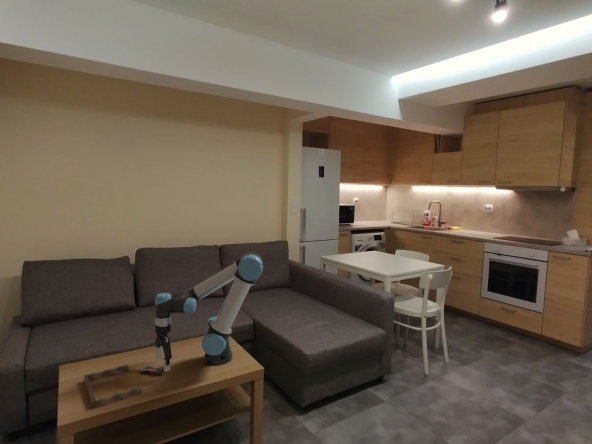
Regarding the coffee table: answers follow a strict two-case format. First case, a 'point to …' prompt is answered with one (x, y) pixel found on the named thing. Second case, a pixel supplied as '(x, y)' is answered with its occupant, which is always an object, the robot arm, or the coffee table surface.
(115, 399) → the frame
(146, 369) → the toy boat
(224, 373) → the coffee table surface
